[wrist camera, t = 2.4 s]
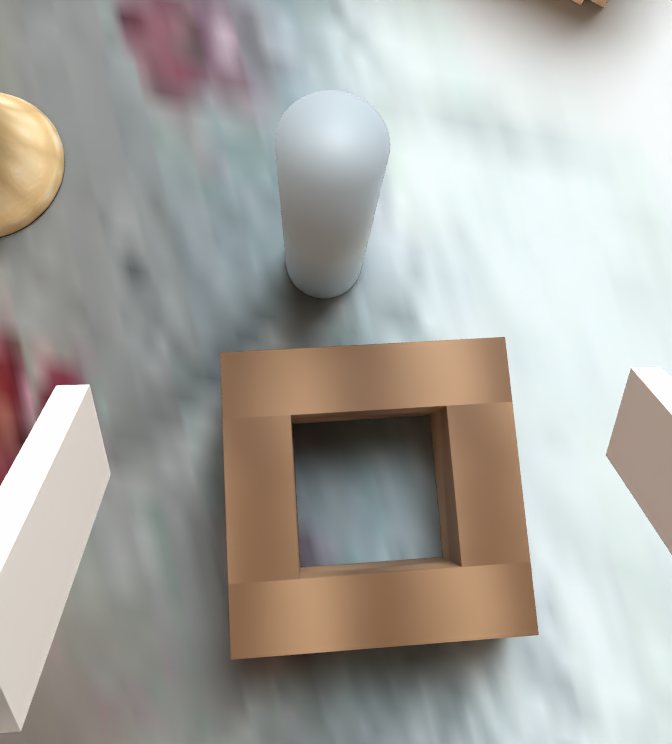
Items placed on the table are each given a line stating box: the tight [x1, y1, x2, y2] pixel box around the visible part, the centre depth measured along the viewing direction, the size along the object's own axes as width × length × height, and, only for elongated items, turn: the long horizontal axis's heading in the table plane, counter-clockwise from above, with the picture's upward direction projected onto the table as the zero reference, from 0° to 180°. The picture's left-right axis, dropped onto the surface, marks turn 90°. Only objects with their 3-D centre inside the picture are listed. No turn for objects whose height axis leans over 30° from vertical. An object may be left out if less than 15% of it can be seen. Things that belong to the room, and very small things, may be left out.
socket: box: [220, 337, 539, 660], centre depth 30 cm, size 13×13×4 cm
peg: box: [275, 90, 390, 298], centre depth 28 cm, size 4×4×12 cm
